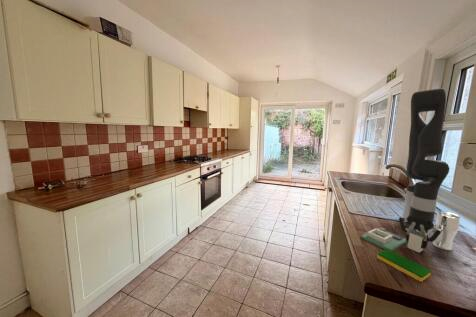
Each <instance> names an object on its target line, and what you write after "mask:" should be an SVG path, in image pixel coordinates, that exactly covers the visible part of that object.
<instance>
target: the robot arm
mask: <svg viewBox="0 0 476 317" xmlns="http://www.w3.org/2000/svg"><path fill="white" fill-rule="evenodd" d="M446 106H447V91H446V90H445V89H444V88H435V89H434V88H433V89H428V90H420V91H416V92H414V93H412V95H411V99H410V129H409V130H410V131H409V137H408V159H407V165H406V171H405V174H406V176H407V178H408V179H412V180H418V181H417V182H415V183H414V184H413V183H412V184H408V185H407V186H406V193H405V198H404V205H403V210H402V216H401V217H399V218H398V220H399V225H400V228H401V231H402V232H403V233H406V237H405V239H406V241H407V242H406V243H408V241H409V236H410V230H411V231H412V230H414V229H415V230H419V231H420V232H421V234H422V235H423V240H422V245H421V248H422V249H423V250H424V249H426V248H428V244H429V242H430V243H433V241H434V240H435V239H436V238H437V237H438V236H439V235H440V234H441V233H442V231H443V230H442V229H438V228H436V227H435V223H434V220H435V214H436V209H437V201H438V200H437V199H438V192H439V190H440V188H441V185H442V184H443V182H444V181H445V179H446V178H447V176H448V175H449V172H450V166H449V164H448V163H447V161H443V160H433V159H426V158H427V157H428V158H429V157H438V156H439V155H441V154H442V153H443V141H442V140H443V138H442V136H443V135H442V134H443V126H444V121H445V120H444V119H445V115H446V114H445V113H446ZM425 112H427V113H428V112H434V114H433V116H432V118H431V119H430V121H429V122H428V123H427V122H426V121H425V120H424V119H423V117H422V116H421V113H425ZM407 223H408V224H409V227H408V226H407ZM430 230H432V232H433V235H431V236H429V231H430Z"/></svg>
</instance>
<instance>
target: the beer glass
mask: <svg viewBox="0 0 476 317" xmlns="http://www.w3.org/2000/svg"><path fill="white" fill-rule="evenodd" d="M460 221H461V216H459V215H457V214H456V213H451V212H448V211H447V212H446V211H437V215H436V218H435V223H434V226H435V227H436V228H438V229H442V230H443V231H442V233H441V234H440V235H439V236H438V237H437V238H436V239H435V240H434V241H433V242H432V244H433V246H435V247H436V248H438V249H440V250H444V251H453V242H454V239H455V237H456V235H457V233H458V232H459V231H458V230H459V227H460Z"/></svg>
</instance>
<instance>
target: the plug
mask: <svg viewBox="0 0 476 317" xmlns="http://www.w3.org/2000/svg"><path fill="white" fill-rule="evenodd" d="M422 240H423V235H422V234H421V232H420V231H419V230H415V229H414V230H412V231H411V230H410V236H409V241H408V242H407V249H410V250H412V251H414V252H416V253H421V252H422V251H424V249H422V248H421V245H422Z"/></svg>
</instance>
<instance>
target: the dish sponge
mask: <svg viewBox="0 0 476 317" xmlns="http://www.w3.org/2000/svg"><path fill="white" fill-rule="evenodd" d="M376 255H377V257H376V259H379V260H380V261H382V262H384V263H386V264H387V265H389V266H391V267H393V268H395V269H397V270H398V271H400V272H402V273H404V274H405V275H407V276H409V277H411V278H413V279H415V280H416V281H418V280H419V281H418V282H420V281H422V282H424V281H426V279H428V278H429V277H430V276H431V273H432V271H431V269H429V268H427V267H425V266H423V265H421V264H420V263H417V262H415V261H412V260H411V259H408V258H406V257H405V256H403V255H400V254H399V253H396V252H394V251H390V250H388V249H383V250H382V251H379V252H377V254H376ZM423 280H424V281H423Z"/></svg>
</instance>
